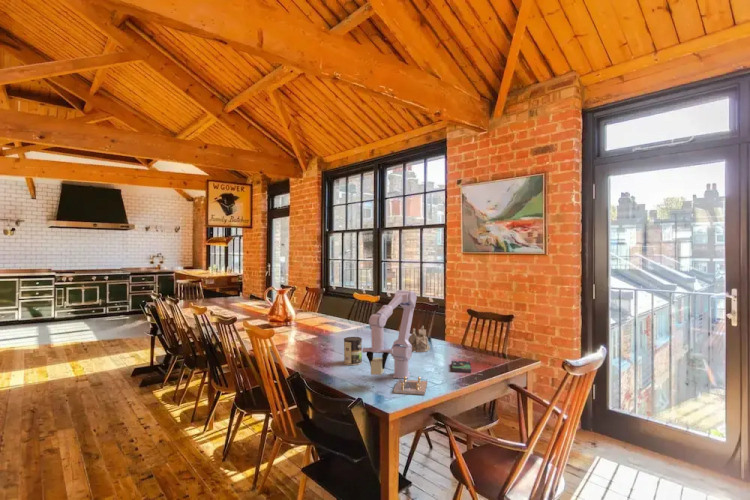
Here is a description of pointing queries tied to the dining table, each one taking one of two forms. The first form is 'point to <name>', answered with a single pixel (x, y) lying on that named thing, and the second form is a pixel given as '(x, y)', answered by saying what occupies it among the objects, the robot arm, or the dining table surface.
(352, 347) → the coffee can
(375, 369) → the block
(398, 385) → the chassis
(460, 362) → the disk drive
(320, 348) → the dining table surface
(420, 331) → the ceramic cottage
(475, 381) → the dining table surface
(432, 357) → the dining table surface
